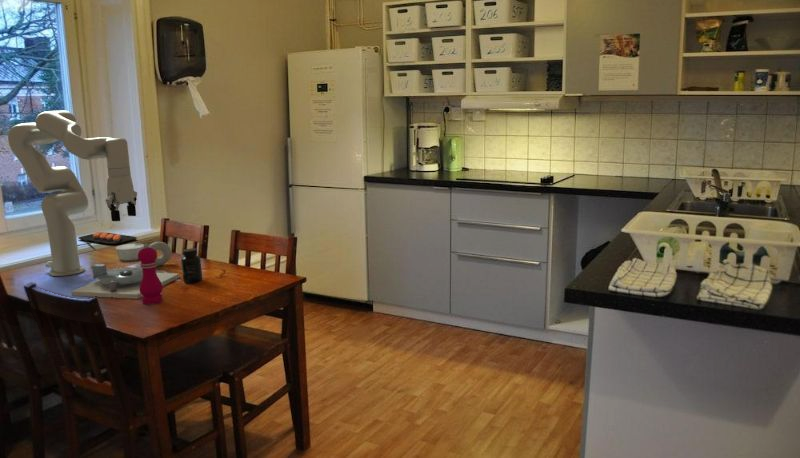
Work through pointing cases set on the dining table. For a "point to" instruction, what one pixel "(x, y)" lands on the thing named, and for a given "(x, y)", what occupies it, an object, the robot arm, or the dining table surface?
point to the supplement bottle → (191, 266)
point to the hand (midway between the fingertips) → (124, 218)
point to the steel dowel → (112, 286)
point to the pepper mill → (149, 276)
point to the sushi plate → (106, 238)
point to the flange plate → (117, 275)
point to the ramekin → (129, 251)
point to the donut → (165, 252)
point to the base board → (120, 288)
